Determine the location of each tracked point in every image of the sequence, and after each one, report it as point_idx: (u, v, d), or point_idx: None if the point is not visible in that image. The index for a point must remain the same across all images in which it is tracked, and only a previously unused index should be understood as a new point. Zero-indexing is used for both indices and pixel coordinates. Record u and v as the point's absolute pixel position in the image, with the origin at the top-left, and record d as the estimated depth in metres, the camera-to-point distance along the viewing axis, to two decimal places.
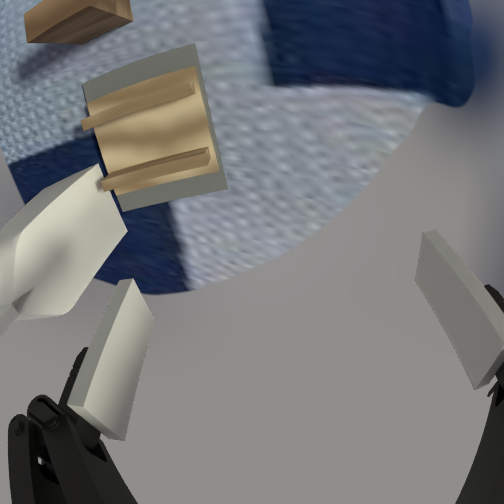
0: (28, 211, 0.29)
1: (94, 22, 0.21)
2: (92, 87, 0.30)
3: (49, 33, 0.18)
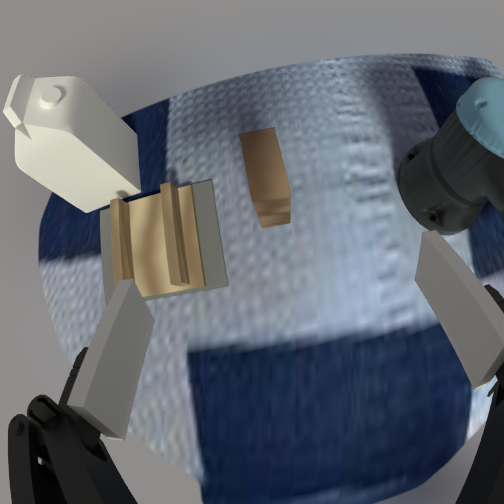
0: (104, 129, 0.36)
1: None
2: (205, 189, 0.44)
3: None
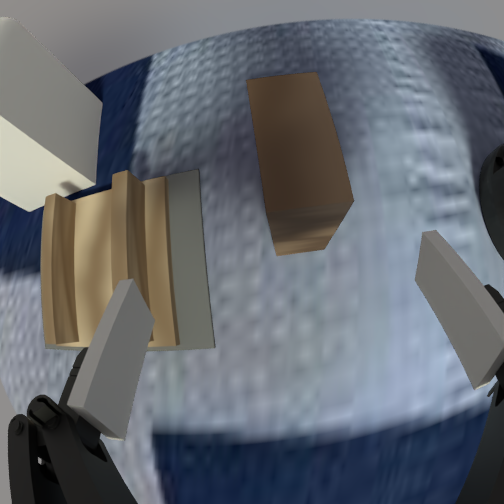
0: (40, 89, 0.19)
1: None
2: (187, 185, 0.27)
3: None
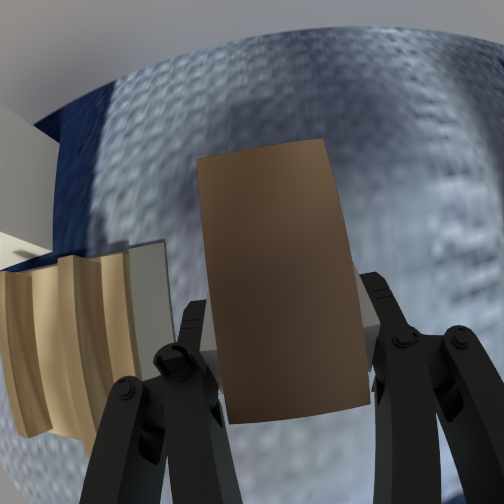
0: None
1: None
2: (151, 263, 0.21)
3: None
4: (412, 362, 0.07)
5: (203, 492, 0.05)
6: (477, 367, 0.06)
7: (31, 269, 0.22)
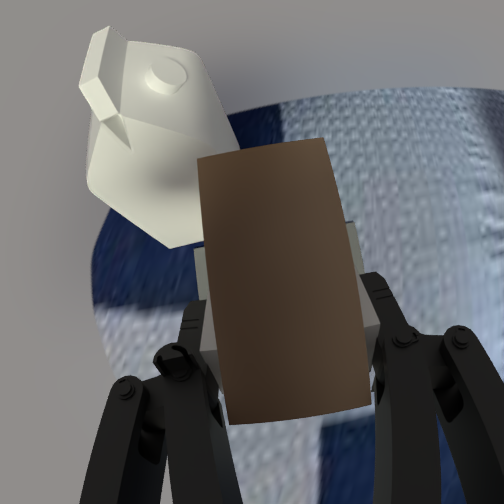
0: (227, 140, 0.27)
1: None
2: (348, 235, 0.35)
3: None
4: (412, 362, 0.07)
5: (203, 492, 0.05)
6: (477, 367, 0.06)
7: None
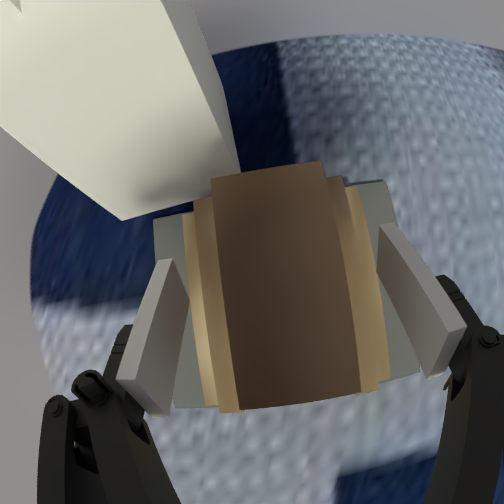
0: (197, 43, 0.15)
1: None
2: (378, 198, 0.23)
3: None
4: (492, 362, 0.06)
5: (136, 503, 0.05)
6: None
7: None
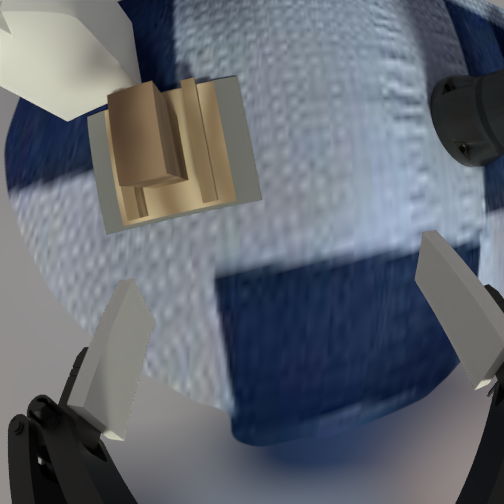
0: (105, 14, 0.20)
1: None
2: (230, 87, 0.32)
3: None
4: None
5: None
6: None
7: None
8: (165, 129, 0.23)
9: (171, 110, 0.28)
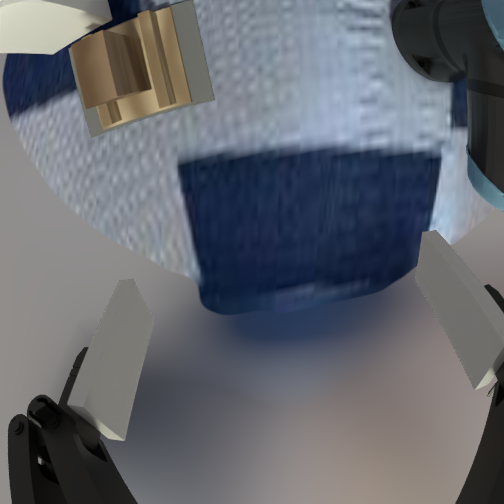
0: None
1: None
2: (186, 9, 0.29)
3: None
4: None
5: None
6: None
7: None
8: (119, 60, 0.25)
9: (131, 38, 0.27)
